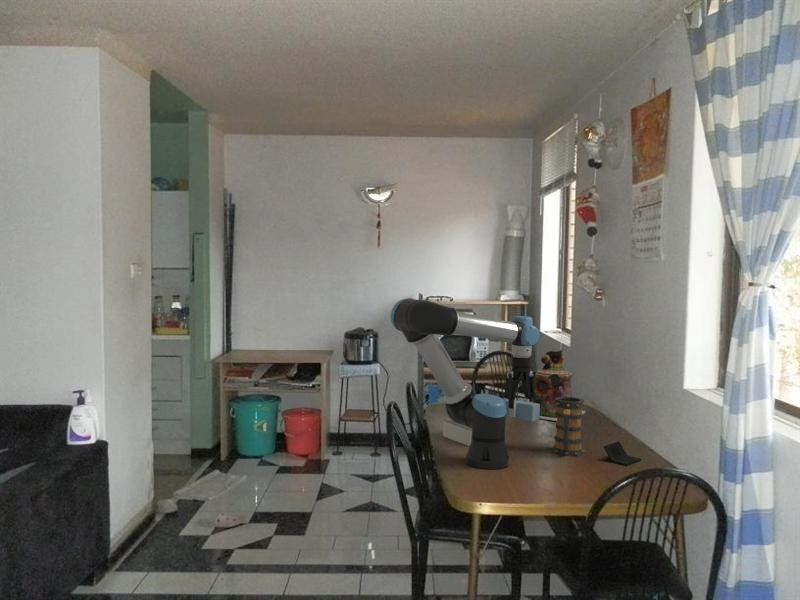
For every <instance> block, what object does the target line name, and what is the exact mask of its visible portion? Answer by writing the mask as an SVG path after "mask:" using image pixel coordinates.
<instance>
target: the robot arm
mask: <svg viewBox="0 0 800 600" xmlns="http://www.w3.org/2000/svg"><path fill="white" fill-rule="evenodd" d="M390 323H391V324H392V327H394V329H396V330H397V331H399V332H402V335H403V336H404V338H405V340H406V341H407V342H408V343H409V344H412V345H414V346H415V348H416V349H417V351H418V352H419V354H420V356H421V357H422V360H423V361H424V362H425V364H426V366H427V368H428V370H429V371H430V372H431V374H432V377H434V379H435V381H436V382H437V384H438V385H439V387H440V389H441V391H442V393H443V394H444V396H443V403H444V412H445V413H446V414H445V415H447V418H450V419H451V420H453V421H454V422H456V423H458V424H462V425H464V426H467V427H470V428H472V440H471V443H470V446H468V450H467V453H466V456H465V462H466V464H467V465H469V466H470V467H474V468H478V469H483V470H484V469H486V470H498V469H504V468H507V467H509V466H510V456H509V452H508V448H507V446H506V419H507V418H506V404H505V401H504V400H503V399H506V398H507V399H509V408H510V411H509V416H511V417H510V418H512V417H515V416H516V400H517V399H515V398H516V396H517V391H518V387H519V385H520V384H521V385H522V389H523V393H524V397H523V398H522V399H523V400H522V401H525V402H531V400H533V397H535V375H536V371H534V370H531V368H530V367H531V366H532V357H531V356H532V352H533V351H532V348H533V346H535V345H536V344H537V342H538V341H539V337H540V332H539V329H538V328H537V326H535V325H533V324H534V321H533V317H531V316H526V315H515V316H513V318H512V321H509V320H503V319H498V318H493V317H487V316H482V315H478V314H473V313H467V312H466V313H465V312H462V311H457V309H456V308H454V307H450V306H447V305H443V304H440V303H437V302H433V301H430V300H428V299H427V300H426V299H415V298H411V297H409V298H404V299H400V300H398V301H397V302H396V303H395V304H394V305H393V307H392V309H391V312H390ZM453 334H454V335H455V334H456V335H458V336H459V335H460V336H466V337H473V338H478V339H484V340H487V341H489V342H495V343H497V342H499V343H500V342H501V343H507V344H508V343H509V344H511V358H510V359H511V361H510V363H511V364H510V365H511V371H510V372H508V371H507V372H505V373H504V374H505V387H504V396H503V397H504V398H502V397H500V396H498V395H495V394H490V393H478V394H477V393H476V392H475V389H474V388H473V386H472V385H471V383H467V382H465V381H464V379H463V378H462V376H461V374H460V372H459V370H458V368H457V367H456V365H455V363H454V362H453V360H452V358H451V356H450V355H449V353H448V352H447V350H446V347H444V344H443V343H442V341H441V339H440V337H439V336H441V335H442V336H446V337H447V336H448V337H450V336H453ZM438 335H439V336H438Z"/></svg>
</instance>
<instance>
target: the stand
mask: <svg viewBox="0 0 800 600" xmlns="http://www.w3.org/2000/svg"><path fill="white" fill-rule="evenodd" d="M442 437H444V438H447V439H449V440H452V441H455V442H458V443H461V445H465V446H468V447H469V446H470V443H471V440H472V428H470V427H467V426H464V425H462V424H458V423H456V422H454V421H453V420H451V419H450V418H449V417H446V418H444V421H443V422H442Z"/></svg>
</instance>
